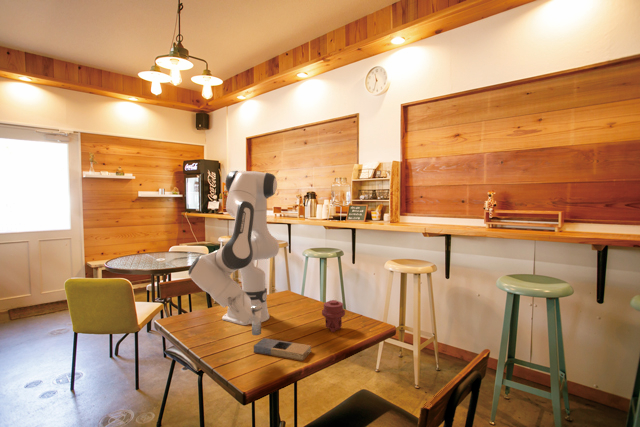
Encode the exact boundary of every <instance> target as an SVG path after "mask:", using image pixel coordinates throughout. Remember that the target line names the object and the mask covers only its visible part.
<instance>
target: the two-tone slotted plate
mask: <svg viewBox="0 0 640 427" xmlns="http://www.w3.org/2000/svg"><path fill="white" fill-rule="evenodd" d="M253 353H257V354H261V355H268V356H272V357H273V356H274V357H279V358H284V359H289V360H291V359H292V360H295V361H301V362H303V361H304V360H305V359H306V358H307V357H308V356H309V355H310V354H311V353H312V345H309V344H303V343H298V342H291V341H286V340H285V341H284V340H278V339H272V338H265V337H264V338H262V339H261V340H260V341H258V342H257V343H256V344H254V345H253Z"/></svg>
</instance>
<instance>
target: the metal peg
mask: <svg viewBox="0 0 640 427" xmlns="http://www.w3.org/2000/svg"><path fill="white" fill-rule="evenodd" d="M251 308H252V313H253V314H254V315H255V316H257V317H258V318H259V319H260V322H259V323H258V324H255V323H254V322H253V321H252V324H251V335H252V336H260V335H261V334H262V322H261V309H262V305H260V304H255V305H251Z"/></svg>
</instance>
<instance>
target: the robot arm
mask: <svg viewBox="0 0 640 427" xmlns="http://www.w3.org/2000/svg"><path fill="white" fill-rule="evenodd" d="M224 184H225V189H226V191H227V193H228V194H227V197H226V203H225V211H226V212H227V214H228V215H229V216H230V217H232V218H234V224H233V229H232V234H231V237H230V239H229V240H228V241H227V242H226V243H225V244H224V245H223V246H222V247H220V248H219V249H216V250H214V251H213V252H210V253H206V254H201V255H199V256H198V257H196V258H195V260H194V261H192V263H191V265H190V266H189V268H188V275H189V277H190V279H191V280H192V281H193V282H194V283H195V284H196V286H198V287H199V288H200V289H201V290H202V291H203V292H206V293H207V294H209V295H210V297H211V298H212V299H213V300H214V301H215V302H216V303H217V304H218V305H220V307H222V308H226V307H227V312H226V313H225V314H224V315H223V316H222V321H227V322H230V323H233V324H237V325H240V326H241V325H242V326H248V325H252V321H253V322H254V323H255V324H258V323H259V322H260V319H259V318H258V317H257V316H255V315H254V314H253V313H252V308H251V305H255V304H260V305H262V309H261V323H263V322H266V321H268V320H269V319H270V314H269V310H268V304H267V298H268V296H267V295H268V294H267V293H268V291H267V287H266V285H267V284H266V273H265V271H264V270H263V269H262V268H259V267H257V266H255V264H254V261H260V260H267V259H272V258H275V257H276V256H277V255H278V254H279V252H280V244H279V241H278V240H277V239H276V238H275V237H274V236H273V235H272V234H271V233H270V231H269V228H268V224H267V223H268V222H267V220H268V219H267V218H268V217H267V213H268V212H267V210H268V208H267V207H268V200H267V199H269V198H271V197H273V196H274V195H275V193H276V191H277V188H278V182H277V177H276V176H275V174H273V173H270V172H261V171H257V170H256V171H255V170H251V171H249V170H245V171H243V170H242V171H241V170H239V171H238V170H232V171H230V172H228V174H227V175H226V178H225V183H224ZM252 233H253V236H252ZM238 270H239V273H240V277H241V285H240V284H239V283H238V282H237V281H235V280H234V279H233V278H231V275H232V273H234V272H236V271H238Z"/></svg>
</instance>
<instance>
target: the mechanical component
mask: <svg viewBox="0 0 640 427" xmlns="http://www.w3.org/2000/svg"><path fill="white" fill-rule="evenodd" d="M321 315H322V316H323V317H324V318H325V327H326V328H327V329H329V330H330V332H331V333H335V332H336V331H338V330H341V328H342V325H343V324H342V322H343V320H342V319H343V317H344V316H345V315H346V310H345V309H344V303H343V302H341V301H338V300H336V299H332V300H329V301H326V302H324V303H323V309H322V310H321Z"/></svg>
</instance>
